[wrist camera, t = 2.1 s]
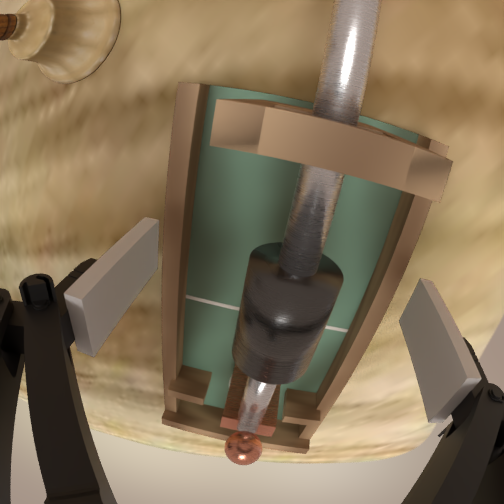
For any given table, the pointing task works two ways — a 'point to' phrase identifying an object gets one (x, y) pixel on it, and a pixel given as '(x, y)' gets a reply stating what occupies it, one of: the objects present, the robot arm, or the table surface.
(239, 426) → the kicker
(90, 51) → the hand bell
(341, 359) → the pitch
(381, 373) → the table surface
